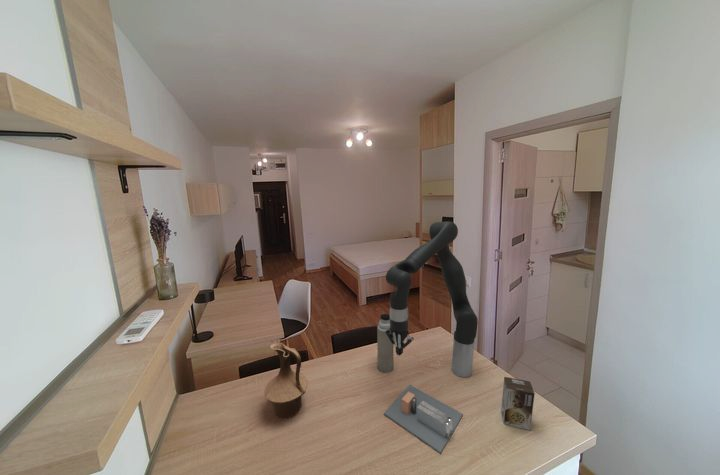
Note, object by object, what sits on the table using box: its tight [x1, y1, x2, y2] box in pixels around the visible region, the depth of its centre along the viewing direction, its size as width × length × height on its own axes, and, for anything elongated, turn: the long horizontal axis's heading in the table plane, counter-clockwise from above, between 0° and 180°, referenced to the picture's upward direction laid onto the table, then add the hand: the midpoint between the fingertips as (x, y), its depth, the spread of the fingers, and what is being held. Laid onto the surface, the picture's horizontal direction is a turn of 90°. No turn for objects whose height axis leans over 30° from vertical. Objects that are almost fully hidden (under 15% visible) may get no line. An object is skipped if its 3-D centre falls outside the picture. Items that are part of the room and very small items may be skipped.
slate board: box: [383, 384, 464, 455], centre depth 105 cm, size 20×24×1 cm
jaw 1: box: [420, 401, 453, 434], centre depth 100 cm, size 12×2×6 cm, turn 48°
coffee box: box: [500, 376, 535, 431], centre depth 101 cm, size 9×6×16 cm
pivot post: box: [412, 397, 417, 414], centre depth 105 cm, size 2×2×6 cm
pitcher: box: [264, 342, 309, 419], centre depth 107 cm, size 18×17×28 cm
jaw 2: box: [417, 405, 450, 438], centre depth 99 cm, size 12×2×6 cm, turn 49°
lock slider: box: [401, 391, 415, 415], centre depth 107 cm, size 3×5×6 cm, turn 139°
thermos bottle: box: [376, 313, 395, 374], centre depth 130 cm, size 8×8×28 cm
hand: (399, 354), depth 112 cm, fingers closed
